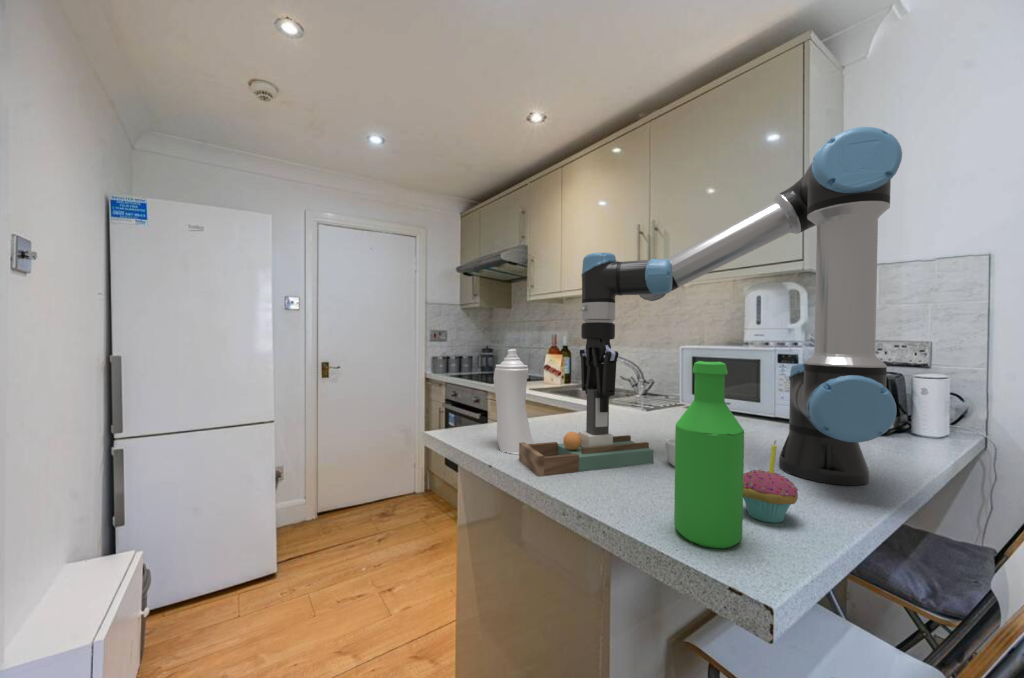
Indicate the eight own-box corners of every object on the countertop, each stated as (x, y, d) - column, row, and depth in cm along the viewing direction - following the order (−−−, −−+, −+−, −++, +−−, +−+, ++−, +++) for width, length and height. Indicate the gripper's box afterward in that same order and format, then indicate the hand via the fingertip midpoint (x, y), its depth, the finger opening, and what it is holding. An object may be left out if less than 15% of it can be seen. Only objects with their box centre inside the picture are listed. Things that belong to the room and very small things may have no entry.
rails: (648, 447, 94) (648, 442, 94) (583, 454, 88) (583, 448, 88) (628, 439, 101) (628, 435, 101) (566, 445, 96) (567, 440, 96)
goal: (578, 471, 86) (579, 452, 86) (538, 476, 83) (538, 456, 83) (555, 456, 97) (555, 439, 97) (519, 460, 94) (519, 442, 93)
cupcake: (756, 502, 71) (757, 433, 71) (810, 522, 63) (811, 445, 63) (724, 511, 67) (725, 438, 67) (777, 534, 60) (778, 451, 59)
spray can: (482, 450, 101) (484, 349, 101) (500, 440, 111) (501, 348, 111) (526, 456, 97) (528, 350, 97) (541, 445, 107) (542, 349, 107)
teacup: (665, 469, 88) (666, 444, 88) (664, 459, 95) (664, 436, 95) (717, 475, 85) (717, 449, 85) (711, 464, 92) (712, 440, 92)
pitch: (653, 463, 92) (653, 449, 92) (578, 471, 86) (578, 457, 86) (624, 450, 103) (624, 438, 103) (555, 456, 96) (555, 444, 96)
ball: (574, 430, 90) (565, 446, 89) (587, 439, 91) (578, 455, 90) (566, 426, 93) (557, 442, 93) (579, 435, 95) (570, 450, 94)
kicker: (612, 448, 92) (613, 390, 92) (589, 450, 90) (590, 391, 90) (600, 442, 97) (601, 387, 97) (578, 444, 95) (578, 388, 95)
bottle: (750, 537, 59) (753, 362, 58) (729, 559, 52) (733, 364, 52) (688, 517, 65) (691, 359, 65) (663, 535, 59) (666, 361, 59)
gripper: (567, 322, 100) (566, 418, 100) (602, 320, 85) (601, 433, 85) (594, 323, 103) (593, 417, 103) (633, 321, 87) (632, 431, 87)
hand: (597, 424), depth 94 cm, fingers closed on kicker, 3 cm apart
